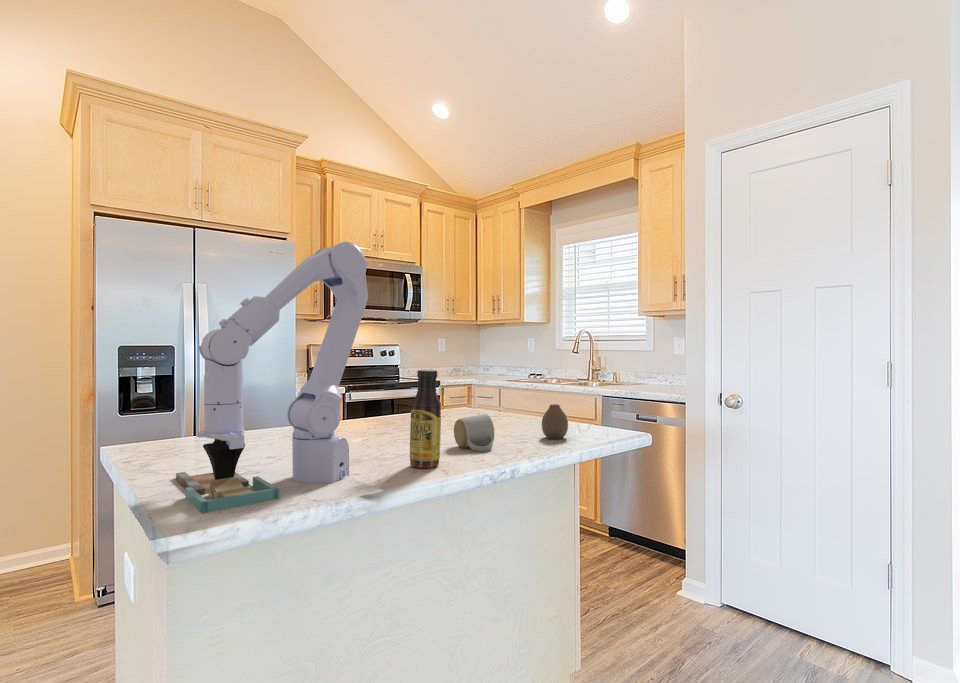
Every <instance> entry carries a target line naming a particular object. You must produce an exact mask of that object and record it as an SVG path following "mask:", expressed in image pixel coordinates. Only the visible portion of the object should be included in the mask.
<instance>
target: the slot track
mask: <svg viewBox="0 0 960 683" xmlns="http://www.w3.org/2000/svg"><path fill="white" fill-rule="evenodd" d="M234 477H237V478H238V479H239V481H240V482H241V484H242V485H243V487H247V488H248V487H252V485H251V484H249V483H250V481H249V480H248V479H246V478H245V477H243V476H242V475H241V474H238V473H237V472H235V474H234ZM173 480H174V481H175V482H177V484H179V485H180V486H181V487H182V488H183V489H184V490H185V491H186V488H188V487H192V488H193V489H194V490H195V491H196V492H197V493H199V494H200V495H201V496H202V495H206V494H207V495H209V491H210V481H212V480H215V478H214V474H213V472H208V473H201V474H194V475H190V474H188V473H187V472H186V471H182V472H176V473H175V477H174V478H173Z"/></svg>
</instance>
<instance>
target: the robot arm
mask: <svg viewBox="0 0 960 683" xmlns="http://www.w3.org/2000/svg"><path fill="white" fill-rule="evenodd" d="M368 265H369V262H368V261H367V258H366V257H365V255H364V253H363V252H362V249H361V248H360V247H359V246H358V245H357V244H355V243H353V242H350V241H342V242H339V243H337V244H335V245H331V246H328V247H323V248H322V247H321V248H320V249H318V250H316V252H315V253H314V254H311V255H309V256H308V257H306V258H305V259H304V260H303V261H302V262H300V263H299V264H298V265H297V266H296V267H295V268H294V269H293V270H292V271H291V272H289V274H288V275H287V276H285V278H283V279H282V280H281V281H280V282H279V283H278V284H277V285H276V286H275V287H273V289H272V290H271V291H269V293H268V294H266V296H261V295H259V296H258V295H255V296H252V297H251V298H248V297H246V298H245V299H242V301H241V302H240V305H241V306H240V307H239V309H237V310H236V311H235V312H234V313H232V314H231V315H230V316H229V317H228V318H227V319H221V320H220V321H219V322H218V324H219V326H220V329H218V328H217V329H214V330H211V331H209V332H207V333H206V334H205V335H204V337H203V338H202V342H201V343H200V345H199V346H198V350H199V354H200V356H201V358H203V359H204V375H203V406H204V408H203V409H204V410H203V413H204V415H203V417H204V420H203V422H204V423H203V425H204V427H203V428H204V429H203V430H201V431H196V432H195V437H197V438H206V439H214V440H213V441H212V442H211V443H205V444H203V445H202V447H203V450H204V451H205V453H206V455H207V456H208V458H209V462H210V465H211V469H212V473H213V474H214V478H215V480H219V479H225V478H231V477H234V474H235V473H236V469H237V465H238V462H239V459H240V457H241V455H242V453H243V451H244V449H245V447H246V443H245V428H244V374H243V360H245V359H246V357H247V356H248V353H249V350H250V349H249V348H250V347H252V346H253V345H254V344H255V343H256V342H258V341H259V340H260V339H261V338H262V337H263V336H264V335H265V334H266V333H267V332H268V331H270V330H271V329H272V328H273V327H275V325H276V324H278V322H280V313H281V310H282V309H283V308H284V307H285V306H286V305H288V304H289V303H290V302H291V301H293V300H294V299H295V298H296V297H297V296H299V295H300V294H302V292H303V291H304V290H307V288H309V286H310V285H312V284H313V283H315V282H319V281H322V282H323V284H325V286H327V287H328V288H329V289H330V291H331V292H332V294H333V297H335V299H336V303H335V305H334V308H333V310H332V315H331V316H330V319H329V323H328V325H327V327H326V332H325V334H324V337H323V339H322V342H321V345H320V348H319V350H318V354H317V356H316V359H315V362H314V364H313V368H312V372H311V373H310V377H309V379H308V380H307V381H306V382H305V383H304V384H303V386H302V387H301V388H300V390H299V392H298V395H297V397H295V399H293V401H292V402H291V403H290V404H289V406H288V409H287V412H286V413H287V415H286V416H287V421H288V423H289V424H290V425H291V427H292V428H293V432H292V438H291V439H292V441H291V442H292V444H291V445H292V480H293V481H295V482H297V483H324V484H325V483H327V484H334V483H336V482H338V481H340V480H344V479H345V478H346V477H350V445H349V442H348V440H347V439H346V438H345V437H343V436H336V435H335V431H336V429H338V427H339V424H340V421H341V411H340V406H341V403H342V398H343V397H342V395H341V391H340V388H339V386H340V383H341V380H342V377H343V374H344V372H345V369H346V366H347V363H348V360H349V356H350V354H351V352H352V348H353V345H354V342H355V339H356V336H357V333H358V330H359V327H360V325H361V321H362V318H363V315H364V312H365V309H366V307H367V304H368V299H369V292H368V284H367V283H368V282H367V275H366V272H367V268H368Z"/></svg>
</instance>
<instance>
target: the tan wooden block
mask: <svg viewBox="0 0 960 683" xmlns="http://www.w3.org/2000/svg"><path fill="white" fill-rule="evenodd" d="M249 492H254V491H253V490H252V489H251V488H248V487H241V488H235V489H229V490H223V491H219V498H222V497H227V496H233V495H238V494H244V493H249Z"/></svg>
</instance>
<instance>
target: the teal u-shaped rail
mask: <svg viewBox="0 0 960 683" xmlns="http://www.w3.org/2000/svg"><path fill="white" fill-rule="evenodd" d="M252 487H253V488H255V489H257V490H256V491H253V492H249V493H244V494H238V495H233V496H227V497H222V498H216V499H213V498H212V499H205V497H203V496H202V495H200V494H199V493H197V492H196V491H195V490H194V489H193V488H192V487H188V488H186V490H185V499H186V500H187V501H188V502H189V503H190V504H191V505H192V506H193V507H194V508H196V509H197V510H198V511H199V512H200V514H206V513H211V512H216V511H221V510H226V509H233V508H237V507H242V506H247V505H252V504H257V503H263V502H268V501H274V500H278V499H279V498H280V488H279V487H277V486H276V485H273V484H272V483H270V482H268V481H266V480H265V479H263V478H261V476H258V475H257V476H252Z"/></svg>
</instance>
